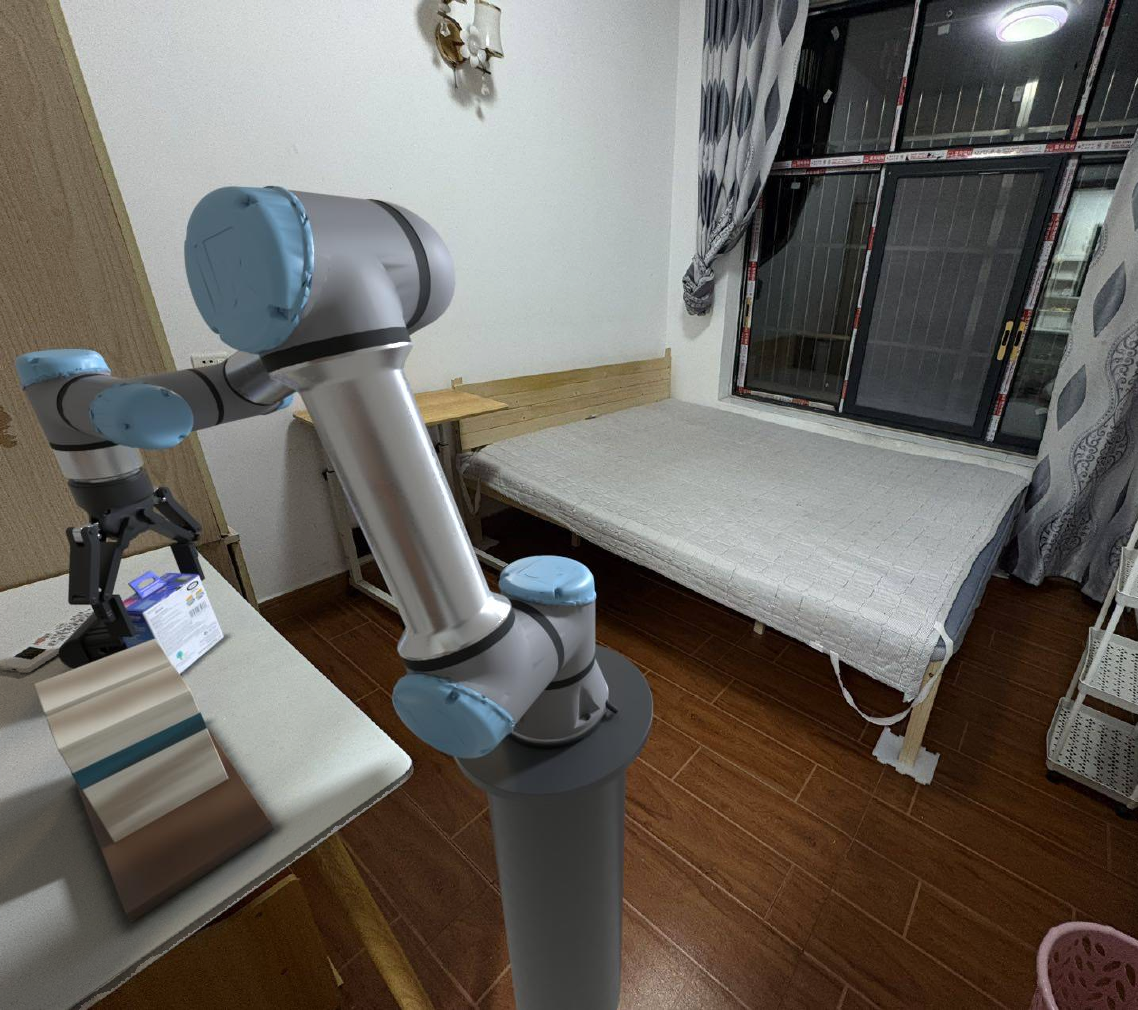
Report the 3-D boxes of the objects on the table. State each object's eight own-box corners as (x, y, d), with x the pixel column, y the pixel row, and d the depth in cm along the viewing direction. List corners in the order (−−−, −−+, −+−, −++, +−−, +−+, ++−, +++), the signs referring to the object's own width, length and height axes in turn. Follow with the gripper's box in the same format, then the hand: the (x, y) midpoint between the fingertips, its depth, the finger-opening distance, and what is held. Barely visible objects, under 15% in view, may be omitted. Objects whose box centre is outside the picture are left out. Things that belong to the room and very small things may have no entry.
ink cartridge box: (192, 634, 89) (161, 558, 83) (226, 636, 89) (197, 560, 83) (137, 677, 80) (97, 596, 74) (174, 680, 80) (138, 598, 74)
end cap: (107, 636, 87) (90, 601, 84) (162, 628, 90) (147, 594, 87) (69, 679, 79) (49, 642, 76) (131, 669, 81) (113, 633, 78)
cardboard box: (274, 829, 61) (234, 729, 54) (131, 923, 52) (63, 817, 46) (204, 724, 73) (164, 632, 67) (79, 786, 64) (18, 687, 58)
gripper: (149, 440, 82) (194, 560, 91) (-28, 515, 60) (54, 664, 69) (203, 441, 83) (242, 561, 92) (48, 516, 60) (119, 664, 70)
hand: (162, 605), depth 80 cm, fingers open, 13 cm apart
